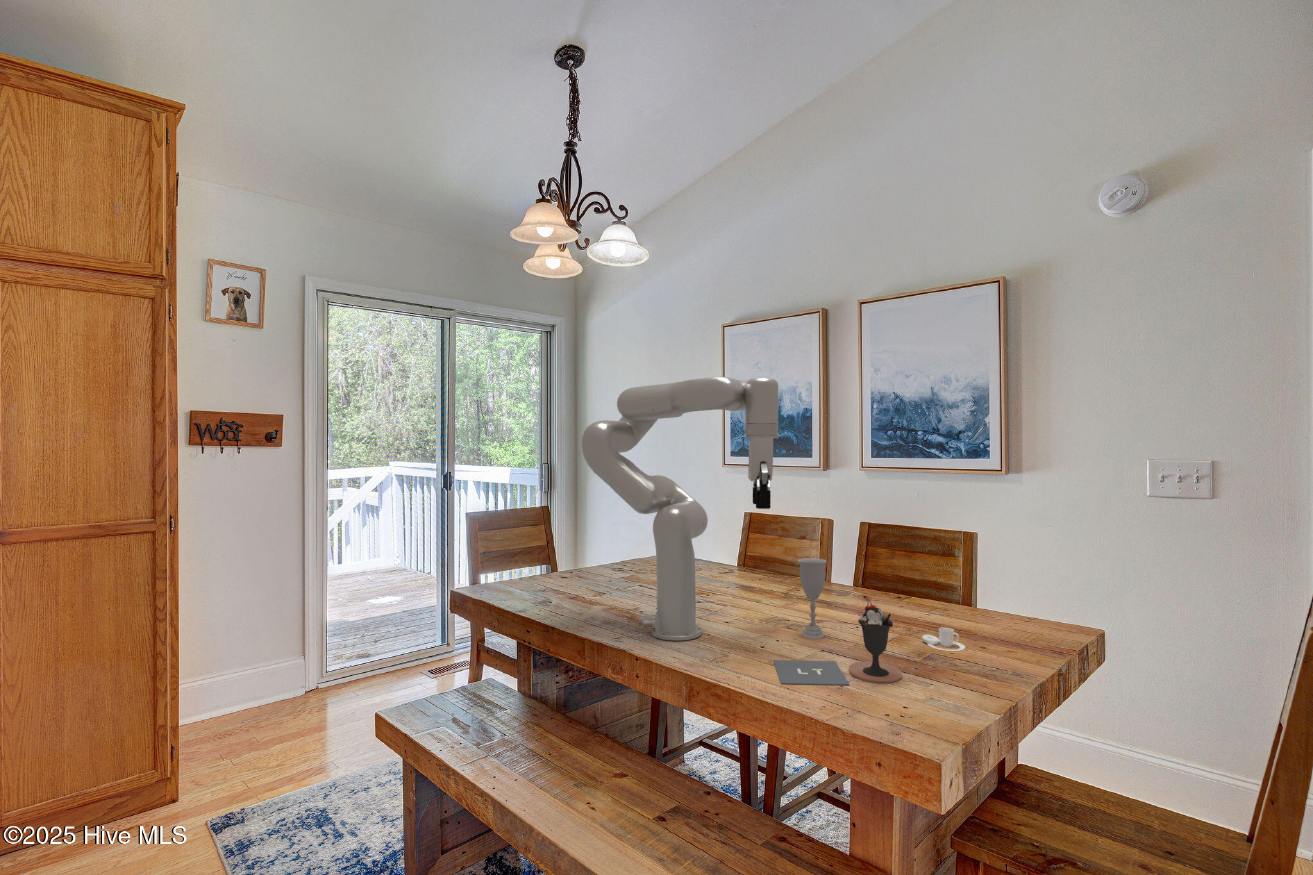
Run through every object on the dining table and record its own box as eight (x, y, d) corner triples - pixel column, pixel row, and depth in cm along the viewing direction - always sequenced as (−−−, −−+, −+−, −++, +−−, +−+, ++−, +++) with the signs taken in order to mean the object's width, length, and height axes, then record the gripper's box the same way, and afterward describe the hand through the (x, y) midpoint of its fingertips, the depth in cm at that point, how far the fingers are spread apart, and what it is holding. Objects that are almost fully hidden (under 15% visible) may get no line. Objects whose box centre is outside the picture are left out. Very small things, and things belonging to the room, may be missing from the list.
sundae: (852, 666, 129) (851, 593, 129) (884, 665, 130) (883, 592, 130) (865, 678, 123) (864, 601, 123) (899, 677, 123) (898, 600, 123)
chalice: (828, 640, 149) (827, 564, 149) (798, 639, 150) (798, 563, 150) (826, 631, 156) (825, 558, 156) (798, 630, 157) (797, 557, 158)
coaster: (855, 682, 123) (855, 678, 123) (844, 664, 133) (844, 660, 133) (908, 683, 122) (908, 679, 122) (892, 665, 132) (892, 661, 132)
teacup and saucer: (916, 643, 148) (916, 626, 148) (942, 639, 151) (942, 622, 151) (947, 655, 140) (947, 636, 140) (973, 650, 143) (973, 632, 143)
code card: (780, 684, 123) (780, 682, 123) (773, 660, 135) (773, 659, 135) (849, 685, 122) (849, 684, 122) (835, 662, 135) (835, 660, 135)
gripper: (743, 432, 155) (742, 502, 155) (747, 431, 138) (747, 510, 138) (774, 432, 154) (773, 502, 154) (782, 431, 137) (782, 510, 137)
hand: (761, 506), depth 146 cm, fingers open, 9 cm apart
